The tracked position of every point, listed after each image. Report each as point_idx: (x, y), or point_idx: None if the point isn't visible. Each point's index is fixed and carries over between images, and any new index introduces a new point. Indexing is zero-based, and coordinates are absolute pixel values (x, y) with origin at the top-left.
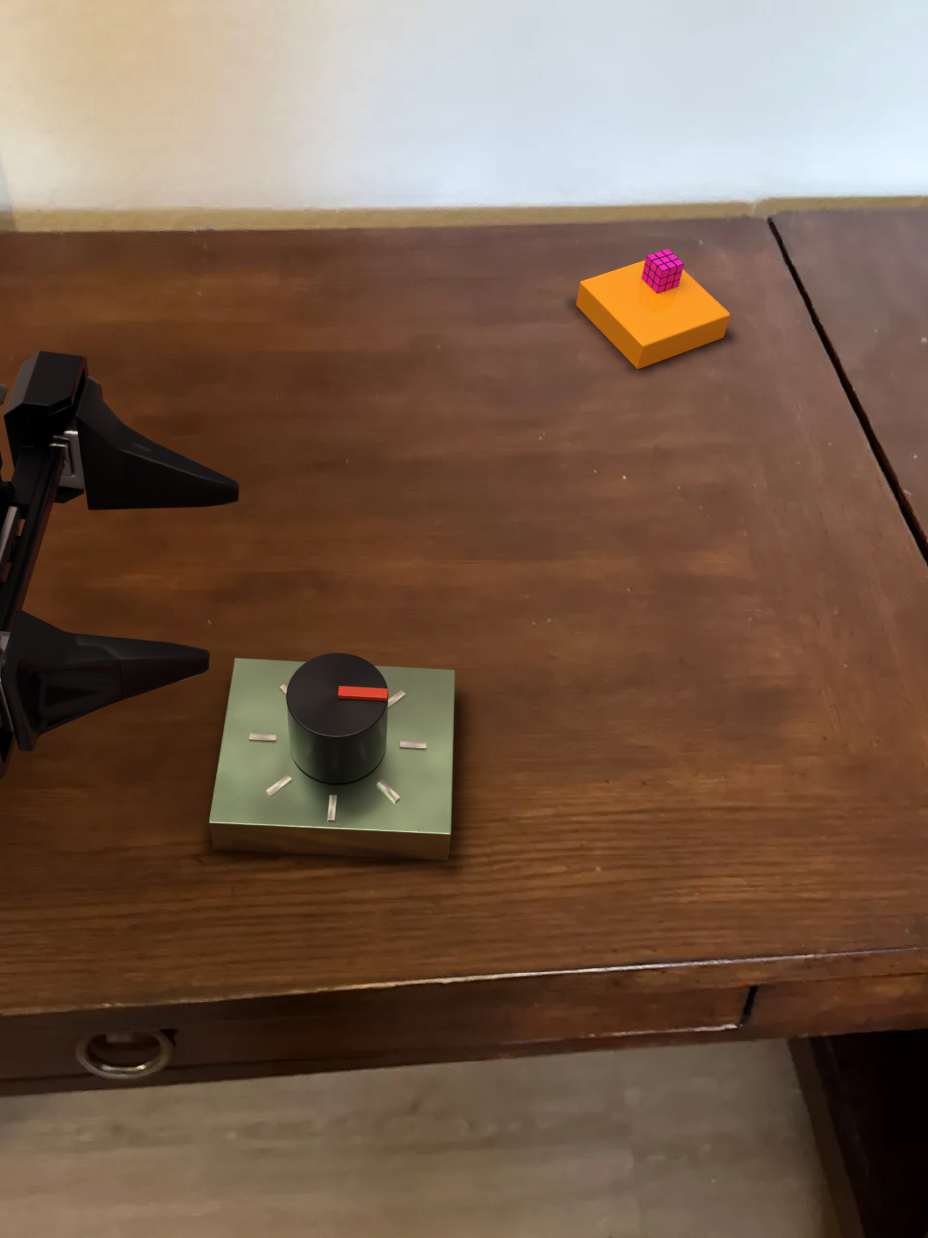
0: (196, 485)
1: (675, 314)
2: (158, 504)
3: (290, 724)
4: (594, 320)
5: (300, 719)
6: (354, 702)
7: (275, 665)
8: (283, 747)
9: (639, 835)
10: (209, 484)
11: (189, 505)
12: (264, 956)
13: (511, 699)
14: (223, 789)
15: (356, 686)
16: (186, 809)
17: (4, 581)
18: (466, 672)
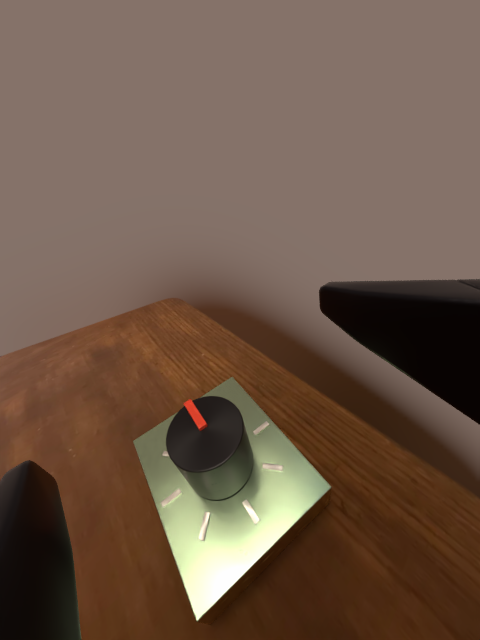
0: (26, 548)
1: None
2: None
3: (241, 456)
4: None
5: (239, 433)
6: (204, 415)
7: (185, 566)
8: (246, 490)
9: (180, 353)
10: (23, 510)
11: (74, 593)
12: (343, 424)
13: (133, 431)
14: (305, 500)
15: (191, 424)
16: (327, 554)
17: None
18: (123, 464)
